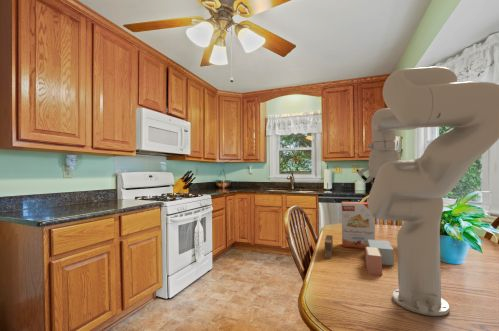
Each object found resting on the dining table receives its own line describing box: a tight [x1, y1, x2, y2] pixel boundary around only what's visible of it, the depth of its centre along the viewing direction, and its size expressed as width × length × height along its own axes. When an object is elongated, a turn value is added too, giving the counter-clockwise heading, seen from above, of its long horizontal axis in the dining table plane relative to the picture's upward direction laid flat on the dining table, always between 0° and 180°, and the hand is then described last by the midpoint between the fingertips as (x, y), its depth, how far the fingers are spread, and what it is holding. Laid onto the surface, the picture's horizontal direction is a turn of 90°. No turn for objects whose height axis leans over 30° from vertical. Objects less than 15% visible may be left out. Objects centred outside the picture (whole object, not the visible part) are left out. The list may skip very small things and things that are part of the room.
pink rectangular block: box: [364, 247, 383, 276], centre depth 90 cm, size 10×4×7 cm, turn 159°
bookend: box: [324, 234, 334, 259], centre depth 107 cm, size 12×2×6 cm, turn 159°
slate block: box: [368, 239, 395, 266], centre depth 100 cm, size 12×8×6 cm, turn 159°
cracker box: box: [341, 201, 376, 249], centre depth 117 cm, size 14×6×21 cm, turn 73°
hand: (384, 193), depth 91 cm, fingers open, 9 cm apart
